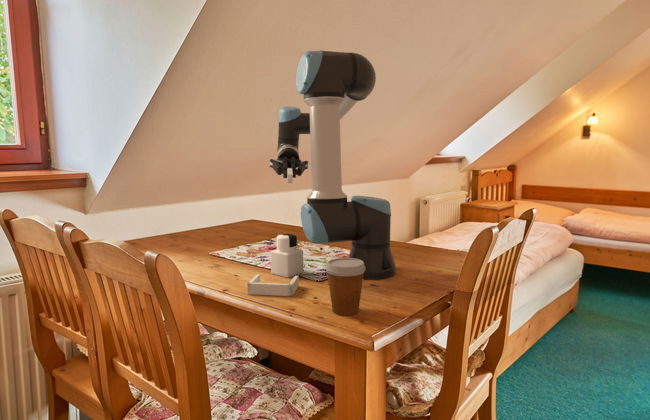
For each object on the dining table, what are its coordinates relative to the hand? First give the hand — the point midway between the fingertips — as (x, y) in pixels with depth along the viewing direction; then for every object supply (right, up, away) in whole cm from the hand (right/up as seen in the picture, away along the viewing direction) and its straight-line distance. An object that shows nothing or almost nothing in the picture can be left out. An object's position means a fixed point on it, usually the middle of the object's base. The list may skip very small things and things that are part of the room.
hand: (290, 178), depth 146 cm
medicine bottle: (-1, -29, +2) cm, 29 cm away
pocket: (-3, -31, -14) cm, 34 cm away
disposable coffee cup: (+15, -34, -29) cm, 47 cm away
